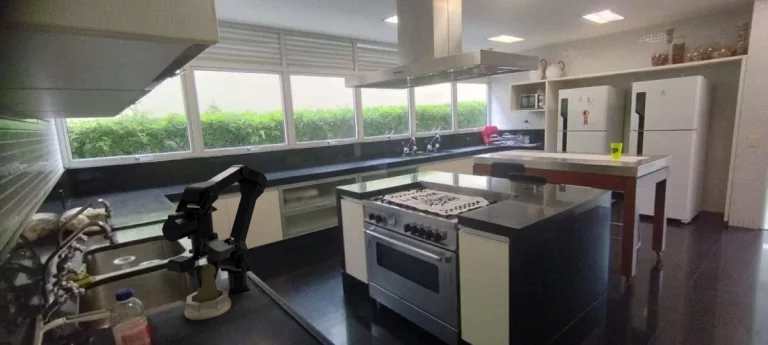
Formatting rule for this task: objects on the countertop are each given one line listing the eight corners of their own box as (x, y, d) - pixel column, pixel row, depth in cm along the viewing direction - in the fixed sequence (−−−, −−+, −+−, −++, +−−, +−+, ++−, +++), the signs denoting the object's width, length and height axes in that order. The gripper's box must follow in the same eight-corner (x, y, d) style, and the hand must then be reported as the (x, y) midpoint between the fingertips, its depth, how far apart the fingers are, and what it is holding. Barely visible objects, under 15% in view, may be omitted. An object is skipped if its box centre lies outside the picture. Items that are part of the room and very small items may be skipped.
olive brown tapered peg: (223, 297, 106) (220, 261, 105) (213, 307, 100) (210, 269, 99) (202, 297, 106) (199, 261, 105) (192, 307, 100) (188, 269, 99)
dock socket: (185, 305, 106) (183, 292, 105) (229, 295, 111) (228, 283, 111) (184, 324, 95) (182, 310, 95) (233, 312, 101) (232, 299, 100)
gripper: (194, 243, 89) (199, 304, 91) (249, 224, 106) (252, 275, 108) (162, 239, 93) (168, 296, 95) (220, 221, 110) (224, 270, 112)
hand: (206, 283), depth 102 cm, fingers closed on olive brown tapered peg, 5 cm apart
